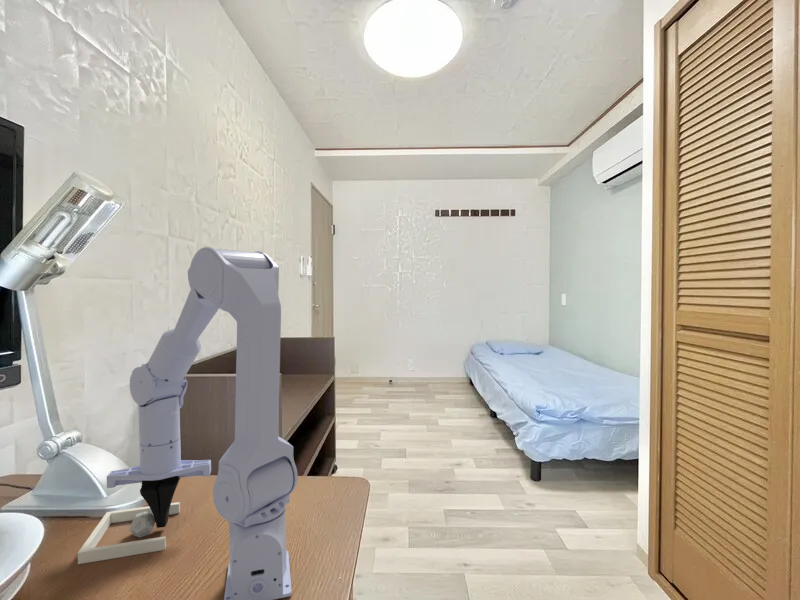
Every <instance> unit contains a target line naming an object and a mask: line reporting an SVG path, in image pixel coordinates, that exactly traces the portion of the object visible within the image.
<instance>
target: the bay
mask: <svg viewBox="0 0 800 600" xmlns="http://www.w3.org/2000/svg"><path fill="white" fill-rule="evenodd" d="M145 511H146V512H149V513H151V514H152V515H153V513H152V511H151V509H150V507H149V505H148V506H140V507H134V508H128V509H118V510H113V511H106V513H105V514H104V516H103V517H102V518H101V520H100V521H99V522H98V524H97V525H96V527H95V528H94V529H93V531H92V532H91V534H90V535H89V536H88V537H87V539H86V541H85V542H84V543H83V544H82V546H81V547H80V549H79V550H78V552H77V565H81V564H82V565H83V564H88V563H93V562H99V561H104V560H105V561H106V560H111V559H118V558H123V557H124V558H125V557H130V556H134V555H141V554H147V553H148V554H149V553H153V552H160V551H165V550H166V548H167V536H166V535H164V536H160V537H154V538H153V537H152V538H147V539H141V540H133V541H129V542H128V541H127V542H126V541H125V542H122V543H115V544H109V545H103V546H102V545H101V546H98V543H99V542H100V540H101V539H102V537H103V536H104V535H105V533H106V531H108V528H109V527H110V525H111V524H114V523H122V522H128V521H133V519H134V517H135V516H136V514H139V513H142V512H145ZM180 512H181V501H178V502H171V505H170V509H169V515H175V514H176V515H177V514H180ZM169 515H168V516H169Z"/></svg>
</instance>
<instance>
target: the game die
mask: <svg viewBox="0 0 800 600" xmlns="http://www.w3.org/2000/svg"><path fill="white" fill-rule="evenodd" d="M155 525H156V522H155V518H154V516H153V515H152V514H151V513H149V512H146V511H145V512H142V513H139V514H136V516H135V517H134V519H133V520H131V524H130V526H129V530H128V531H130V532H131V534H133V536H135V537H137V538H142V537H143V538H144V537H146V536H149V535H150V534H151V533H152V530H153V529H154V527H155Z"/></svg>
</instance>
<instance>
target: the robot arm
mask: <svg viewBox="0 0 800 600" xmlns="http://www.w3.org/2000/svg"><path fill="white" fill-rule="evenodd" d="M279 272H280V267H279V266H278V264H277V263H276V262H275V261H274V260H273V259H272V258H271V256H270V255H268V254H267V253H266V252H263V251H244V250H232V249H231V250H230V249H223V248H222V249H220V248H214V247H210V246H205V247H202V248H199V249H198V250H197V251H196V253H195V254H194V256H193V257H192V259H191V262H190V265H189V268H188V270H187V280H188V285H189V288H190V290H189V293H188V295H187V298H186V300H185V302H184V305H183V307H182V310H181V312H180V315H179V317H178V319H177V323H176V325H175V328H172V329H167V331H164V332H163V334H161V337H160V339H159V341H158V342H157V344H156V347H155V348H154V350H153V352H152V354H151V356H150V357H149V360H148V361H147V362H146V363H143V364H141V366H136V367H135V368H134V369H132V372H131V375H130V377H129V391H130V392H129V393H130V395H131V397H132V400H133V401H134V402H135V404H137V405H138V407H137V408H138V437H139V439H138V440H139V441H138V442H139V465H137V466H132V467H129V468H123V469H117V470H116V469H115V470H111V471H109V473H108V474H107V475H106V489H113V488H116V486H125V485H130V484H131V485H132V484H139V483H141V487H140V489H139V493H140V496H141V497H142V498H143V499H144V501H145V502H146V503H147V505H148V506H149V507H150V509H151V511H152V513H153V516H154V518H155V525H156V528H157V529H160V528H165V527H167V524H168V522H169V509H170V505H171V503H172V501H173V498H174V494H175V492H176V489H177V487H178V484H179V482H180V479H181V478H187V477H189V478H190V477H195V476H196V477H197V476H202V477H209V476H211V472H212V460H211V459H202V460H201V459H200V460H197V459H195V460H192V459H190V460H189V459H188V460H186V459H184V460H183V459H182V457H181V455H182V451H181V448H182V447H181V445H182V444H181V413H180V412H181V409H183V405H184V398H185V397H184V396H185V394H186V392H187V389H188V380H187V378H186V377H187V376H186V375H187V373H188V372H189V370H190V369H191V366H192V365H193V364H194V362H195V360H196V358H197V356H198V355H199V353H200V351H201V349H202V348H201V347H202V346H201V341H200V340H199V338H200V336H201V335H202V334H203V332H204V330H206V328H207V326H208V325H209V323H210V322H211V321H212V319H213V318H214V316H215V315H216V313H217V312H218V311H219V310H222V311H224V312H227V313H228V314H229V315H231V317H232V318H233V319H234V321H236V362H235V364H236V365H235V412H234V413H235V415H234V417H235V421H234V440H233V442H232V443H231V445H230V446H229V447H228V448H227V449H226V450H225V452H224V454H222V456H221V458H220V459H219V461H218V471H217V475H216V478H215V481H214V484H213V489H212V500H213V503H214V507H215V509H216V511H217V512H218V514H219V516H220V517H222V518H223V520H225V522H228V537H229V538H228V540H229V541H228V542H229V546H228V547H229V561H228V566H227V574H226V581H225V587H224V588H225V589H224V590H225V591H224V596H223V597H224V598H223V600H278V599H284V598H288V597H291V595H292V593H293V592H292V591H293V589H292V581H291V570H290V569H291V568H290V557H289V555H290V553H289V551H288V550H287V529H286V528H287V521H286V518H287V516H286V515H287V514H286V513H287V512H286V507H287V505H288V504H289V503H290V495H291V494H292V493H293V492H294V490H296V487H297V485H298V479H299V476H298V469H297V465H296V463H295V460H294V446H293V445H292V444H291V443H290V442H288V441H287V440H286V439H284V438H282V437H280V436H279V418H280V416H279V415H280V375H281V374H280V373H281V372H280V371H281V370H280V369H281V338H282V337H281V335H282V334H281V332H282V331H281V329H282V327H281V326H282V306H281V301H280V297H279V296H280V295H279V281H280V278H279V277H280V273H279Z"/></svg>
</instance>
